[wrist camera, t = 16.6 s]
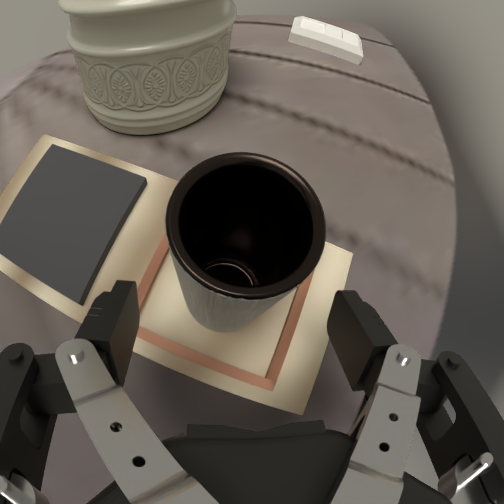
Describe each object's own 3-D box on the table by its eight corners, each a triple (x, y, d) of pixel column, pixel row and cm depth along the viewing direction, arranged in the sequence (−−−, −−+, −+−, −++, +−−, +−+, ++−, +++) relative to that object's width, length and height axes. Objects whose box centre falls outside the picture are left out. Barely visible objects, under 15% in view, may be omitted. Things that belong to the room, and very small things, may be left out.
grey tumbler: (229, 349, 17) (263, 337, 7) (168, 297, 17) (129, 223, 8) (277, 289, 18) (354, 213, 9) (219, 242, 19) (237, 127, 9)
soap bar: (357, 67, 31) (365, 51, 28) (287, 43, 30) (292, 26, 28) (356, 49, 33) (363, 35, 30) (291, 28, 32) (296, 12, 29)
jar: (213, 46, 28) (233, -98, 11) (240, 127, 24) (288, -83, 7) (94, 64, 25) (72, -78, 8) (83, 154, 21) (15, -47, 4)
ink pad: (-6, 249, 16) (-11, 245, 15) (55, 149, 19) (52, 143, 19) (83, 306, 16) (78, 303, 15) (147, 184, 19) (146, 177, 19)
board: (-20, 253, 17) (-32, 245, 15) (48, 142, 21) (41, 129, 19) (296, 412, 17) (305, 417, 16) (345, 258, 21) (356, 250, 20)
